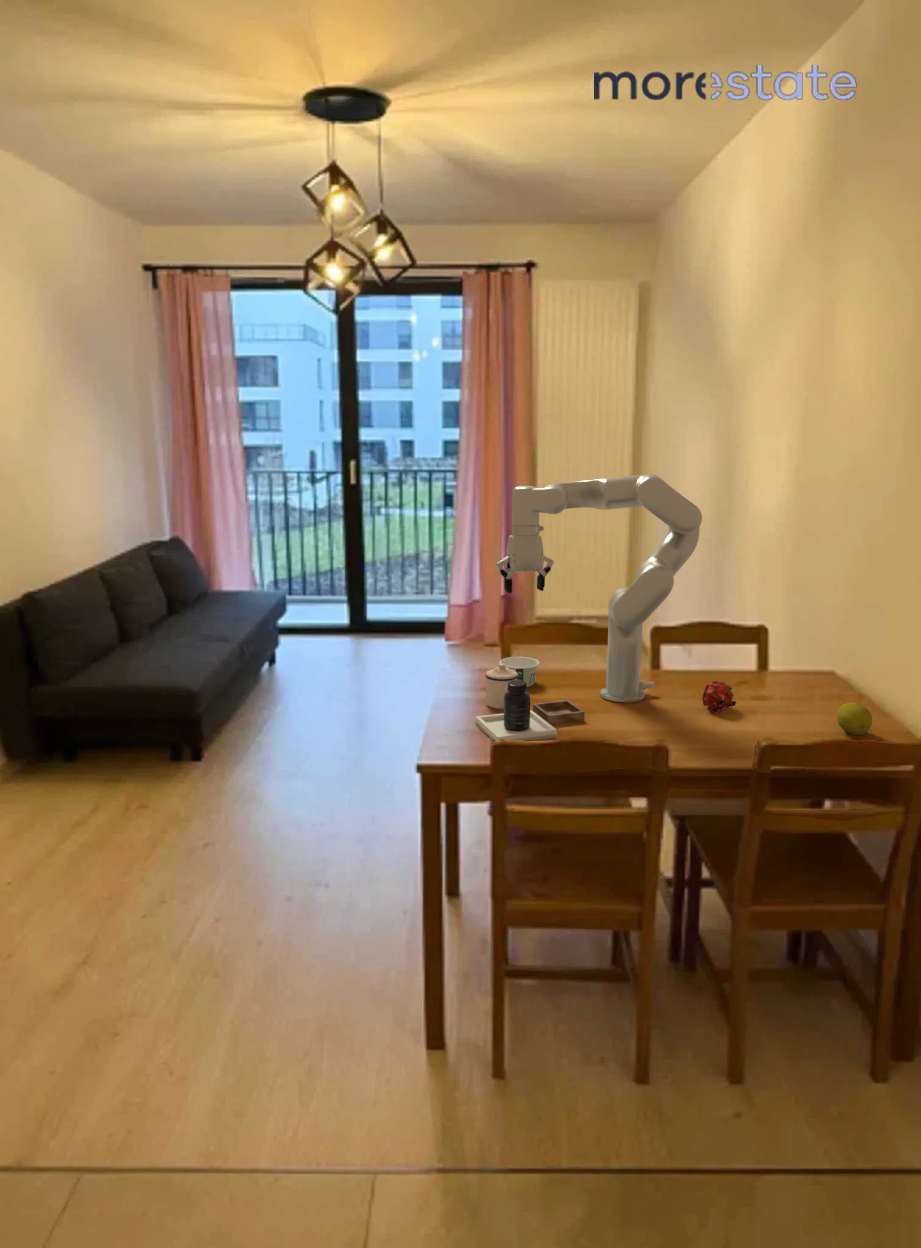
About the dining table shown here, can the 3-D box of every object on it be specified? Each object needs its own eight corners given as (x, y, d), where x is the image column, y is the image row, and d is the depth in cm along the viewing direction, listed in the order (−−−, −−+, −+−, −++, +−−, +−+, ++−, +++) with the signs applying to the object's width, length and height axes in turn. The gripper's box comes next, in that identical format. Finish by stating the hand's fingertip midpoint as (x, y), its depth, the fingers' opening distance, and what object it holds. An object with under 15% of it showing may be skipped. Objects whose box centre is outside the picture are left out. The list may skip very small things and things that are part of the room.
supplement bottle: (502, 723, 238) (502, 679, 236) (527, 722, 239) (528, 678, 236) (504, 732, 232) (505, 687, 229) (531, 731, 232) (532, 686, 229)
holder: (567, 708, 252) (567, 700, 252) (584, 720, 243) (584, 711, 242) (532, 712, 249) (532, 704, 248) (548, 725, 239) (548, 716, 239)
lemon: (875, 741, 228) (879, 710, 226) (843, 740, 229) (846, 709, 227) (861, 726, 239) (864, 697, 237) (830, 725, 239) (833, 696, 237)
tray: (531, 717, 245) (531, 710, 245) (556, 737, 231) (556, 729, 230) (475, 723, 240) (475, 716, 240) (497, 744, 226) (497, 737, 225)
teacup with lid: (517, 710, 251) (517, 669, 248) (484, 709, 252) (484, 668, 249) (518, 696, 263) (519, 657, 260) (486, 695, 263) (487, 656, 261)
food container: (500, 676, 282) (500, 656, 281) (539, 677, 281) (539, 657, 279) (498, 688, 271) (498, 667, 269) (538, 689, 269) (539, 668, 268)
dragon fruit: (715, 707, 258) (722, 727, 247) (691, 690, 257) (697, 710, 246) (735, 685, 255) (743, 705, 244) (712, 668, 254) (719, 687, 243)
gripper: (548, 527, 261) (546, 586, 265) (491, 530, 255) (491, 590, 259) (559, 531, 254) (558, 591, 258) (501, 534, 248) (501, 595, 252)
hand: (524, 591), depth 258 cm, fingers open, 9 cm apart
